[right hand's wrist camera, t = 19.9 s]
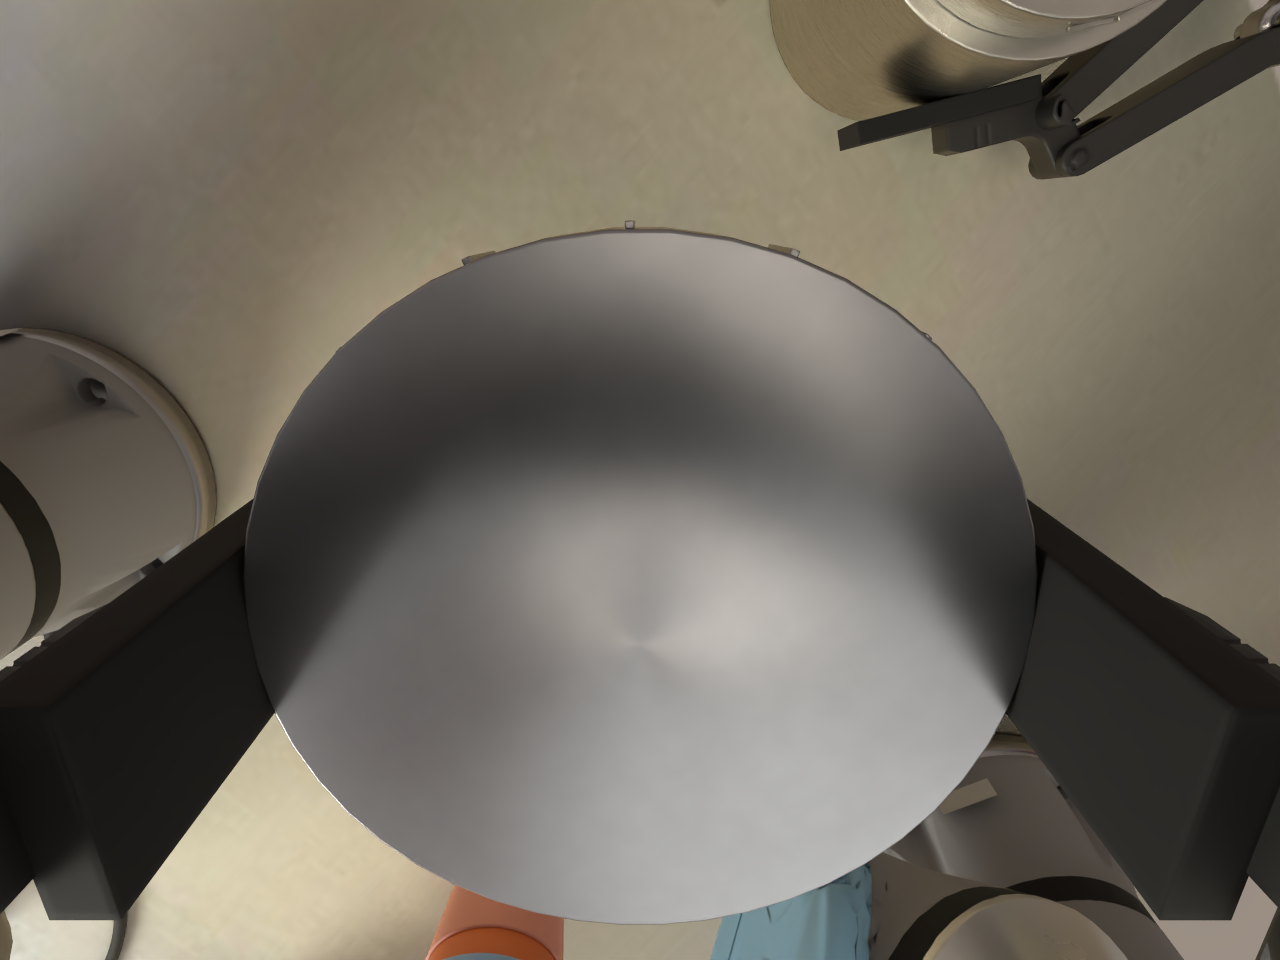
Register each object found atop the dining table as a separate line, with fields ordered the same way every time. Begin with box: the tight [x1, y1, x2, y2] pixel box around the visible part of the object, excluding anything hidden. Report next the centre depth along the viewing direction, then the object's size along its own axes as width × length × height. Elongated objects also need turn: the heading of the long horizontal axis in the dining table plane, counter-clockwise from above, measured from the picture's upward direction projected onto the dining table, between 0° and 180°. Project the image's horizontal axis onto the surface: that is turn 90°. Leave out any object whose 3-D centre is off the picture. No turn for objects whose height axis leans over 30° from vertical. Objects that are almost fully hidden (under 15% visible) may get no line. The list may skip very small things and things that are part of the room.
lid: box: [243, 221, 1038, 924], centre depth 11 cm, size 11×11×2 cm
